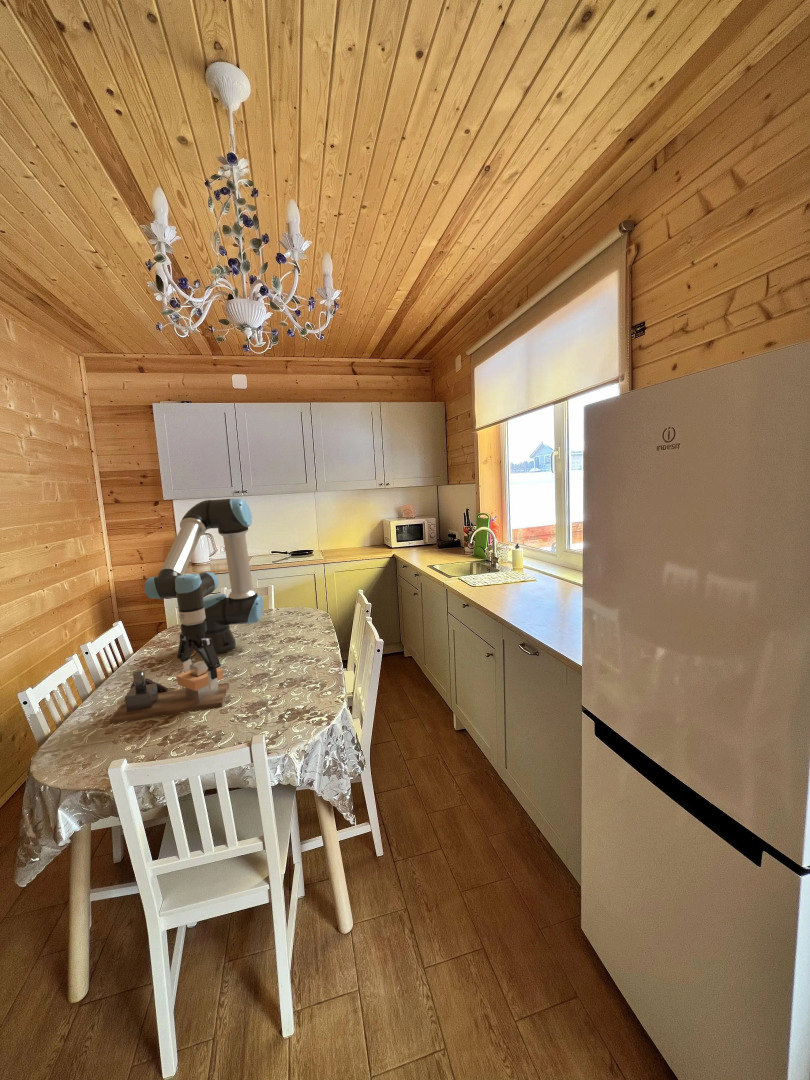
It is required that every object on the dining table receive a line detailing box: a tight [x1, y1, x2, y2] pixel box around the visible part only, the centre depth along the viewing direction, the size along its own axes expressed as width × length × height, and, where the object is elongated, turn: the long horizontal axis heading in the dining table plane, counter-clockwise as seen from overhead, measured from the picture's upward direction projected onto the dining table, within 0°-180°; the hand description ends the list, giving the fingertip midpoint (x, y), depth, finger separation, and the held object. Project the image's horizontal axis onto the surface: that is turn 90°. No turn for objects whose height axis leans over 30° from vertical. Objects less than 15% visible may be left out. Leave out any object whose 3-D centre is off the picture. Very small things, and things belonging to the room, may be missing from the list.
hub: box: [184, 660, 219, 703], centre depth 145 cm, size 7×7×11 cm
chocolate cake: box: [129, 677, 169, 693], centre depth 153 cm, size 10×7×12 cm
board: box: [109, 682, 230, 725], centre depth 144 cm, size 14×32×2 cm, turn 103°
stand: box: [124, 669, 158, 712], centre depth 141 cm, size 7×7×11 cm
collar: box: [176, 667, 225, 691], centre depth 145 cm, size 10×10×3 cm
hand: (201, 683), depth 145 cm, fingers open, 13 cm apart
